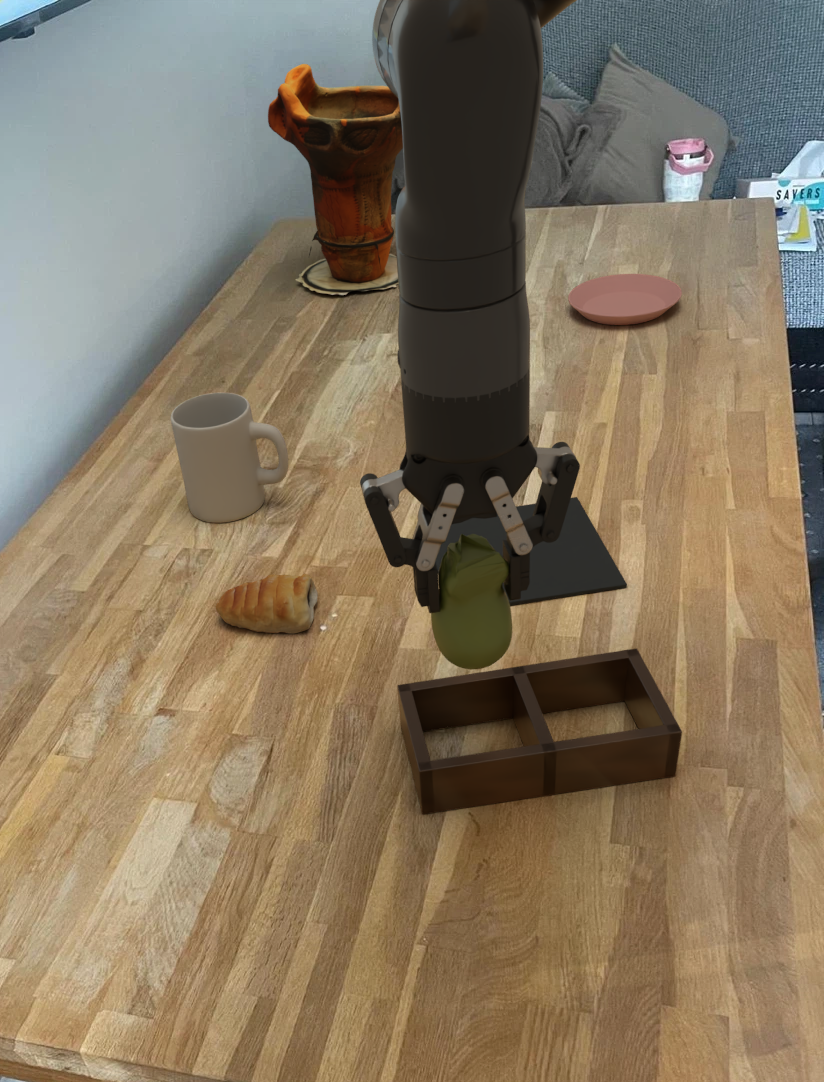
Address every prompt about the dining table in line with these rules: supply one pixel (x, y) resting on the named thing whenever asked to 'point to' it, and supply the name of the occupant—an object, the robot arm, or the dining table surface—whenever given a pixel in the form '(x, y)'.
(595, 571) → the mat
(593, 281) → the plate
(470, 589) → the green rounded tall piece
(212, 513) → the mug
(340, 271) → the decorative vase
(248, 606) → the pastry
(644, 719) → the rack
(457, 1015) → the dining table surface
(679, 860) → the dining table surface
